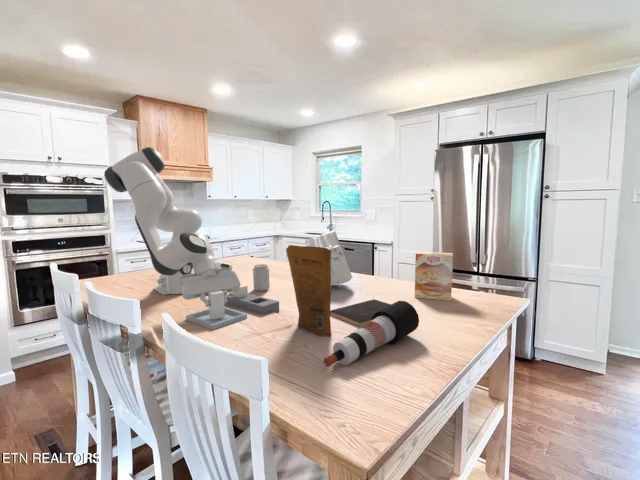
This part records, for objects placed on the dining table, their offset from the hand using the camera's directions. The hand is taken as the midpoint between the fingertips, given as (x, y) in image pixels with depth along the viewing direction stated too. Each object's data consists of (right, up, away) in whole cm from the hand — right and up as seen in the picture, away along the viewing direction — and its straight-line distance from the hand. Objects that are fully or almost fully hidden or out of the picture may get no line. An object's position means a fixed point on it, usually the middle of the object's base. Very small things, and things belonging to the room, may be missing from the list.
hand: (217, 304), depth 119 cm
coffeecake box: (+85, -3, +29) cm, 90 cm away
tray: (0, -6, +1) cm, 6 cm away
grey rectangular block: (0, -5, +1) cm, 5 cm away
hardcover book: (+54, -6, +8) cm, 55 cm away
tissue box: (+40, -1, +50) cm, 64 cm away
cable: (+50, -9, -23) cm, 56 cm away
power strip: (+9, -5, +16) cm, 18 cm away
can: (+8, -2, +44) cm, 45 cm away
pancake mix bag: (+33, -7, -8) cm, 35 cm away
